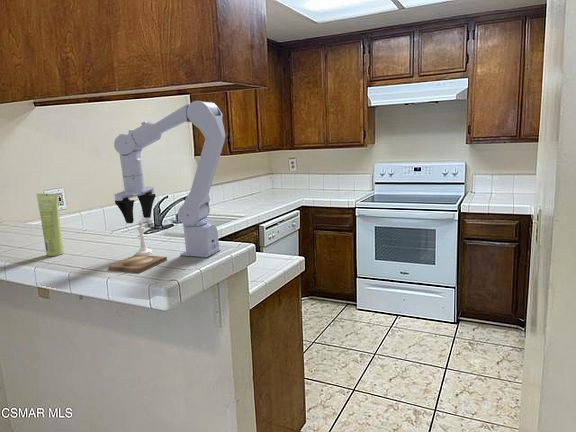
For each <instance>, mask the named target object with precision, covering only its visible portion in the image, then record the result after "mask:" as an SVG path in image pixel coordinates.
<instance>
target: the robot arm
mask: <svg viewBox="0 0 576 432" xmlns="http://www.w3.org/2000/svg"><path fill="white" fill-rule="evenodd" d="M184 123H191V124H193V125H194V127H196V128H197V129H199V131H200V132H201V134H202V135H203V137H204V142H203V146H202V148H201V149H202V150H201V153H200V156H199V157H200V158H199V160H198V164H197V168H196V171H195V173H194V177H193V180H192V185H191V188H190V191H189V193H188V194H187V195H186V197H185V198H184V202H183V203H182V205H181V206H180V207H179V209H178V211H177V216H178V219H179V221H180V222H181V223H182V228H183V238H184V245H185V251H182V252H181V253H179V256H184V257H187V256H188V257H199V258H207V257H210V256H211V255H214V254H216V253H218V252H219V251H221V250H222V249H221V247H220V244H219V243H220V242H219V232H218V229H217V226H216V225H215V224H211V223H209V221H208V218H207V217H208V216H209V214H210V213H211V212H210V210H211V209H210V201H211V198H210V190H211V187H212V184H213V181H214V177H215V174H216V171H217V167H218V163H219V160H220V156H221V153H222V152H223V146H224V144H225V140H226V131H225V127H224V126H225V125H224V122H223V113H222V111H221V110H220V108H219V107H218V105H216V104H215V103H214V102H213V101H211V102H210V101H201V100H193V101H191V102H190V103H187V104H185V105H183V106H181V107H180V108H177V110H175V111H173V112H171V113H170V114H168V115H167V116H165V117H163V118H161V119H160V120H158V121H157V122H154V121H143V122H141V123H140V124H141V125H140V126H139V127H136V128H135V129H129V130H128V133H127V134H125V133H122V134H121V133H120V134H119V135H118V136H116V138H115V139H114V143H113V147H114V149H115V151H116V153H118V154H119V160H120V167H121V174H122V181H123V188H124V189H123V190H122V191H120V192H118V193H114V194H113V195H114V204H115V205H116V206H117V208H118V209H119V210H120V212H121V214H122V216H123V218H124V221H125V222H126V224H133V223H134V219H135V218H134V205H135V200H134V199H132V198H136V197H137V199H138V201H139V203H140V206H141V211H142V216H143V218H145V219H150V218H151V217H152V210H153V204H154V201H155V199H156V194H155V190H154V189H155V188H154V186H146V187H145V180H144V173H143V165H142V153H141V152H142V150H143V149H144V148H146V147H148V146H150V145H152V144H154V143H156V142H157V141H159V140H161V138H162V136H163V133H165V132H168V131H170V130H171V129H173V128H176V127H178V126H180V125H182V124H184ZM131 199H132V200H131Z"/></svg>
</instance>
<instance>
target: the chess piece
mask: <svg viewBox="0 0 576 432" xmlns="http://www.w3.org/2000/svg"><path fill="white" fill-rule="evenodd" d="M137 226H139V227H137V231H138V233H139V235H138V237H139V238H140V248H139V249H138V250H136V252H135V255H148V256H150V255H152V254H153V250H152V249H151V248H148V247H147V244H146V241H145V237H146V236H147V235H146V234H144V233H145V227H144V223H143V222H142V221H138V223H137Z"/></svg>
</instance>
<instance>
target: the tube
mask: <svg viewBox="0 0 576 432" xmlns="http://www.w3.org/2000/svg"><path fill="white" fill-rule="evenodd" d="M36 198H37V203H38V204H37V205H38V212H39V215H40V221H41V228H42V233H43V234H42V235H43V240H44V247H45V253H46V256H47V257H57V256H62V255H63V254H64V253H65V251H64V243H63V235H62V234H63V233H62V228H61V222H60V215H59V214H60V213H59V206H58V205H59V203H58V196H57V193H36Z"/></svg>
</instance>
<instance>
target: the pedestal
mask: <svg viewBox="0 0 576 432" xmlns="http://www.w3.org/2000/svg"><path fill="white" fill-rule="evenodd" d="M166 261H168V257H167V256H160V255H159V256H158V255H136V254H135V255H134V254H133V255H132V256H130V257H127V258H125V259H122V260H120V261H117V262H115V263H113V264H110V265H108V267H107V268H108V271H109V270H110V271H120V272H129V273H130V272H131V273H138V274H139V273H143V272H145V271H147V270H149V269H152V268H153V267H156V266H158V265H161V264H162V263H164V262H166Z"/></svg>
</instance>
